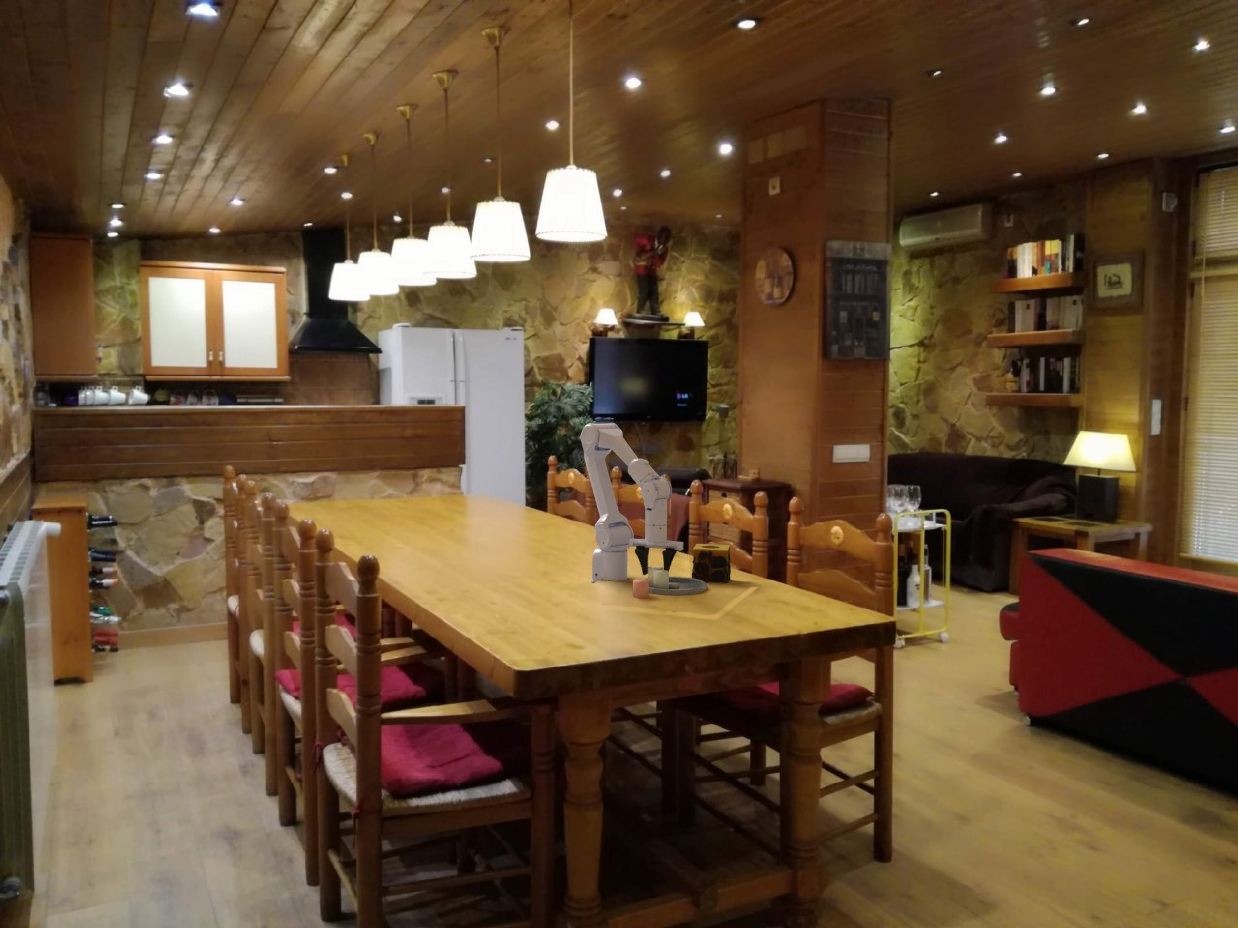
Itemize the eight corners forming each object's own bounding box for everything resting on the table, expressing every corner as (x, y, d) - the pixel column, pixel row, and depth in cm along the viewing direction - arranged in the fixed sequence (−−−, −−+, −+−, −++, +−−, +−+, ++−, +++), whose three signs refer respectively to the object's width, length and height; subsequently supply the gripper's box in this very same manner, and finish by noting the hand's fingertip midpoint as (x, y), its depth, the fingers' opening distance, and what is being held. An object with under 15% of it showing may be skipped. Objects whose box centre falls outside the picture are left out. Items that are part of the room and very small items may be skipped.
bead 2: (646, 584, 253) (646, 566, 253) (661, 584, 254) (661, 565, 254) (649, 587, 249) (649, 569, 249) (664, 587, 250) (664, 568, 250)
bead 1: (630, 601, 239) (630, 581, 238) (636, 597, 242) (636, 578, 242) (645, 602, 237) (645, 582, 237) (650, 599, 241) (651, 579, 240)
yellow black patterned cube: (728, 587, 257) (728, 550, 256) (691, 585, 259) (691, 548, 258) (731, 579, 267) (732, 544, 266) (695, 578, 269) (696, 543, 268)
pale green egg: (651, 591, 245) (651, 572, 245) (656, 588, 249) (656, 569, 249) (665, 592, 244) (666, 573, 244) (670, 589, 248) (671, 570, 247)
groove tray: (629, 594, 245) (629, 586, 245) (652, 582, 262) (652, 574, 261) (694, 601, 239) (694, 592, 239) (713, 587, 255) (713, 579, 255)
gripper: (624, 524, 250) (624, 575, 251) (677, 528, 244) (676, 580, 245) (634, 521, 256) (634, 571, 257) (685, 524, 251) (685, 575, 252)
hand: (655, 575), depth 252 cm, fingers open, 5 cm apart
